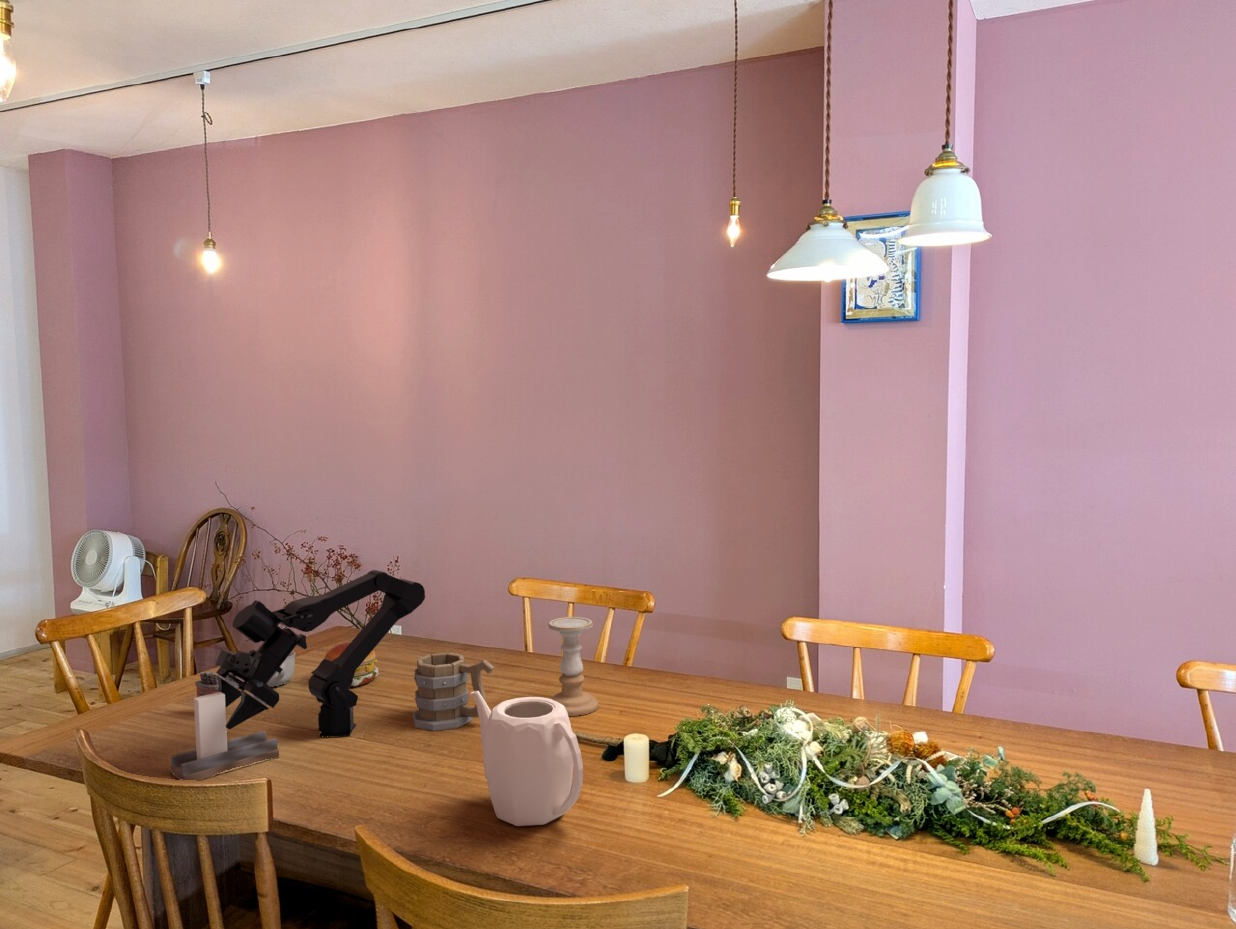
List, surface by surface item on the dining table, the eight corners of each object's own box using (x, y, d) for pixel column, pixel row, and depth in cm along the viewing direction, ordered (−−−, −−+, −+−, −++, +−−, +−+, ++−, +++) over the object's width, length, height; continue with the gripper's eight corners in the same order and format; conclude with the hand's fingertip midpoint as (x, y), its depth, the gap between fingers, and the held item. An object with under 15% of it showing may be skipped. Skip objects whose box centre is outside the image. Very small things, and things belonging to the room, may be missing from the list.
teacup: (250, 681, 229) (248, 650, 228) (294, 675, 233) (293, 645, 233) (252, 697, 216) (251, 665, 216) (299, 690, 221) (298, 659, 220)
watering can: (505, 775, 169) (503, 678, 168) (612, 816, 152) (610, 708, 151) (441, 805, 157) (438, 701, 156) (549, 852, 140) (546, 736, 139)
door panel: (223, 755, 177) (220, 691, 176) (227, 758, 175) (224, 694, 174) (197, 763, 173) (193, 697, 172) (201, 766, 171) (198, 700, 170)
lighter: (193, 714, 205) (191, 672, 204) (206, 709, 208) (204, 668, 207) (216, 719, 201) (214, 676, 200) (229, 715, 204) (227, 672, 203)
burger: (320, 678, 230) (319, 640, 229) (374, 671, 236) (372, 634, 235) (327, 693, 218) (325, 654, 217) (383, 685, 224) (382, 646, 223)
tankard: (401, 725, 196) (399, 658, 195) (438, 707, 207) (436, 644, 206) (474, 740, 187) (472, 670, 186) (509, 720, 198) (507, 654, 197)
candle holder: (575, 720, 197) (573, 631, 196) (534, 709, 205) (532, 623, 203) (609, 705, 207) (608, 620, 206) (569, 695, 214) (567, 613, 213)
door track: (263, 746, 185) (262, 730, 185) (279, 757, 179) (278, 740, 179) (171, 772, 173) (170, 754, 172) (185, 784, 167) (184, 766, 167)
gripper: (223, 625, 184) (170, 690, 177) (260, 642, 170) (203, 713, 164) (263, 654, 190) (213, 718, 183) (301, 672, 176) (249, 742, 170)
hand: (218, 722), depth 175 cm, fingers open, 9 cm apart
